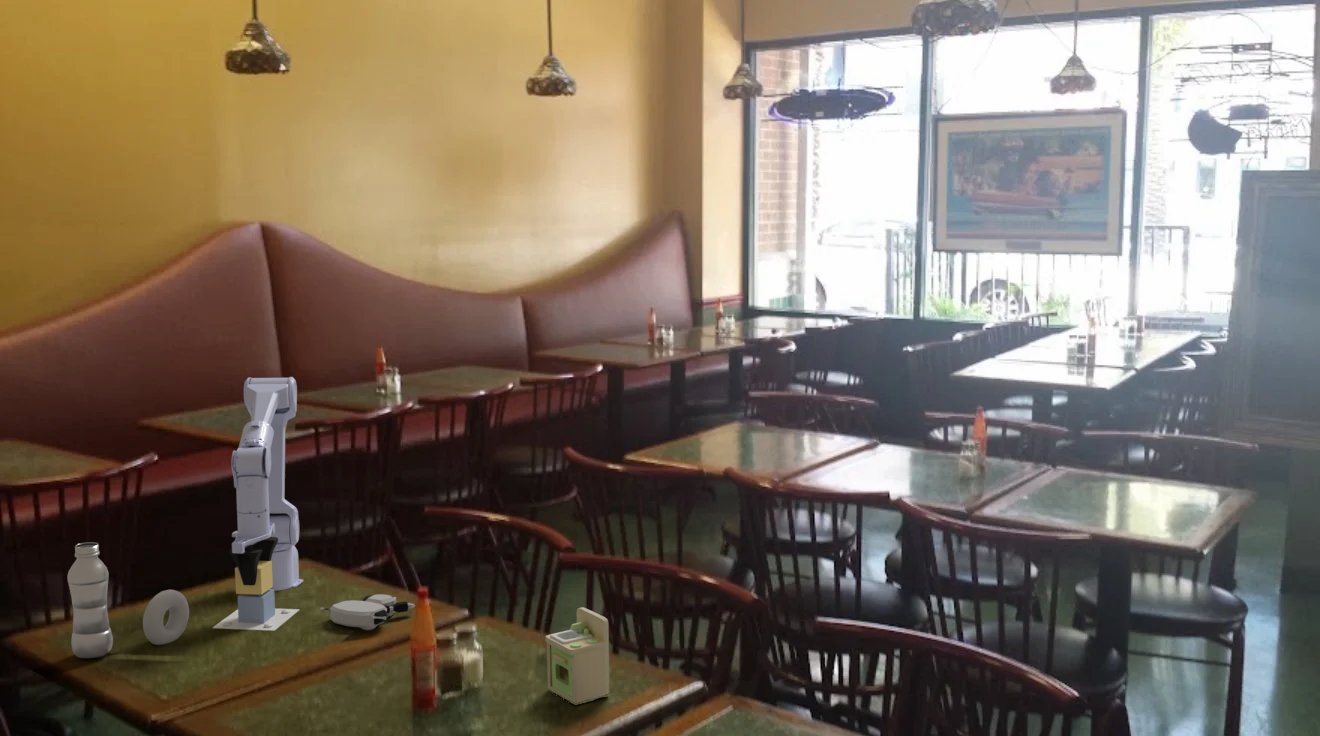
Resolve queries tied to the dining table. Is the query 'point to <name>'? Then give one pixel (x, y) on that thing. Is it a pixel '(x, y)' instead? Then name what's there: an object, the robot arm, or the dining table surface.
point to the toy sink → (580, 658)
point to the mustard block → (262, 580)
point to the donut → (156, 613)
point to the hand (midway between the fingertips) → (255, 580)
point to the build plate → (270, 625)
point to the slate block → (256, 607)
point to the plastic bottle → (89, 603)
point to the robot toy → (366, 611)
